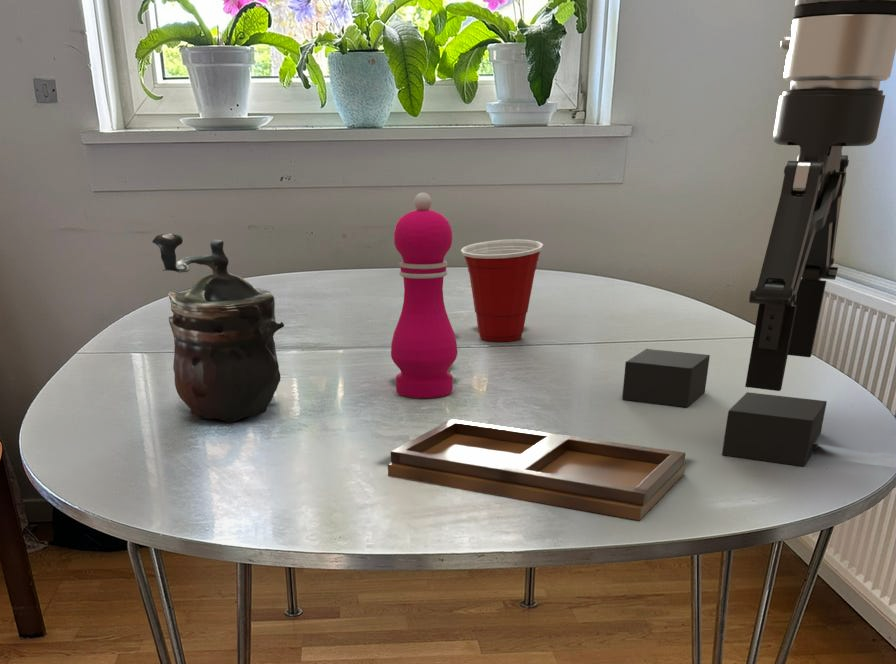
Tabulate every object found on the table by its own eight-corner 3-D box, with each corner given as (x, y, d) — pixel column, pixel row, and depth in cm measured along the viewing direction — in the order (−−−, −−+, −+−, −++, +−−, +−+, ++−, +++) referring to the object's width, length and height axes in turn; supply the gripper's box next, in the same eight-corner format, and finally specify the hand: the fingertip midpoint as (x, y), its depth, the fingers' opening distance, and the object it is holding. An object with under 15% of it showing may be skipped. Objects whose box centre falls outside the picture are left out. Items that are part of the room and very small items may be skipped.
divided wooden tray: (684, 473, 80) (687, 450, 79) (639, 520, 71) (642, 495, 70) (453, 438, 89) (453, 417, 88) (387, 475, 80) (387, 452, 79)
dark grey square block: (705, 392, 103) (710, 354, 101) (687, 407, 98) (692, 368, 96) (642, 385, 106) (646, 348, 104) (621, 399, 101) (625, 361, 99)
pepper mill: (469, 388, 106) (472, 191, 96) (433, 403, 100) (433, 195, 91) (415, 380, 109) (413, 189, 100) (378, 394, 104) (372, 193, 94)
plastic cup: (443, 338, 130) (443, 244, 124) (498, 327, 136) (500, 237, 131) (500, 349, 123) (503, 250, 117) (555, 337, 129) (560, 243, 123)
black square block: (818, 444, 86) (827, 401, 84) (804, 466, 81) (813, 420, 79) (740, 434, 89) (746, 392, 87) (721, 454, 84) (728, 410, 82)
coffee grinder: (141, 436, 91) (109, 235, 83) (193, 397, 104) (170, 218, 95) (268, 440, 90) (249, 234, 81) (305, 399, 102) (292, 218, 94)
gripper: (810, 89, 82) (766, 339, 93) (744, 83, 64) (698, 398, 74) (904, 88, 79) (847, 347, 90) (864, 82, 60) (798, 411, 71)
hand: (780, 371), depth 82 cm, fingers open, 13 cm apart
